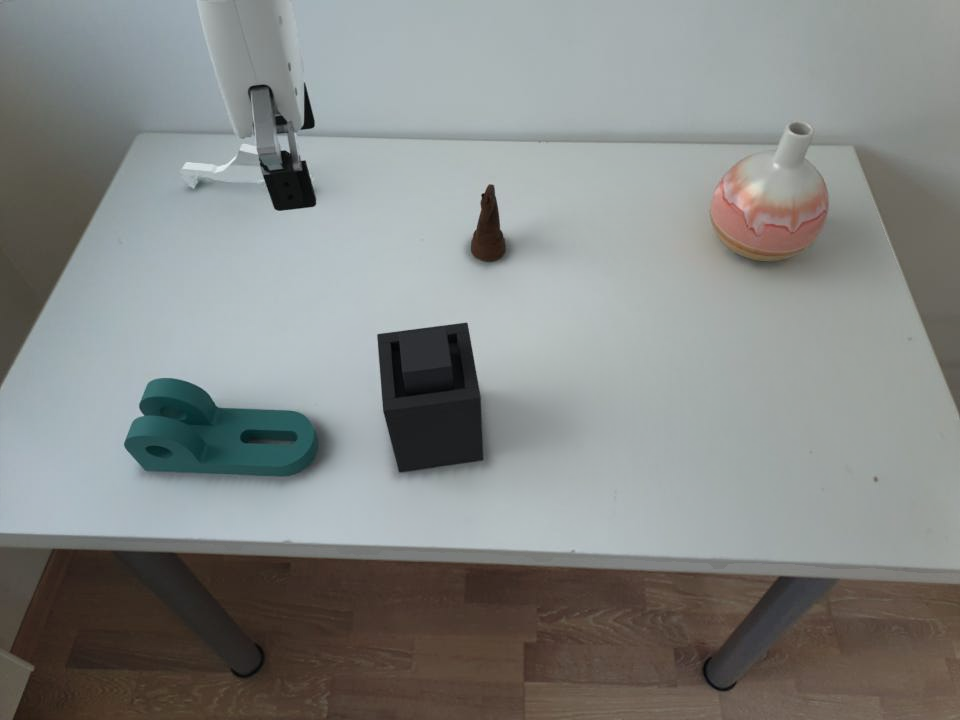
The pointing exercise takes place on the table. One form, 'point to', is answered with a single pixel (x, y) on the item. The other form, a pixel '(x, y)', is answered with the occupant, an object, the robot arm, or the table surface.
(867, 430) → the table surface
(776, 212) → the vase
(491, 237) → the chess piece
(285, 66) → the robot arm
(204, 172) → the llama figurine
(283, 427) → the bracket
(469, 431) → the black rectangular box
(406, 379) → the dark grey cube
